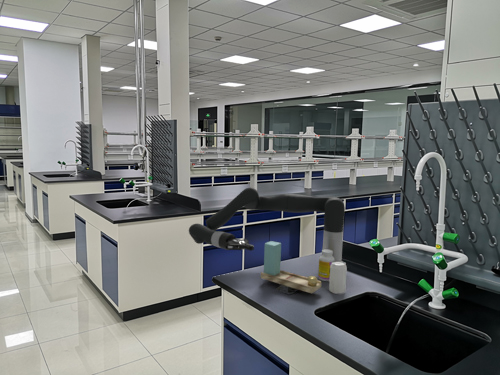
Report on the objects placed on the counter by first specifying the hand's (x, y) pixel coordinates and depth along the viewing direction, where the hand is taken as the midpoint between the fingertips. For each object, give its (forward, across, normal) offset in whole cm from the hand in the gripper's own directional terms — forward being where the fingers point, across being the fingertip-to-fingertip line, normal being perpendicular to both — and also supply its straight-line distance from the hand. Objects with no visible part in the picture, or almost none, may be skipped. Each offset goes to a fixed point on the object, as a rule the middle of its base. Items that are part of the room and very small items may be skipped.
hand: (252, 248), depth 159 cm
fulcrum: (+20, 0, +13) cm, 23 cm away
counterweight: (+29, 0, +9) cm, 31 cm away
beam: (+19, 0, +10) cm, 22 cm away
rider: (+10, 0, +9) cm, 14 cm away
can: (+36, +10, +13) cm, 40 cm away
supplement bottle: (+27, +19, +13) cm, 35 cm away
